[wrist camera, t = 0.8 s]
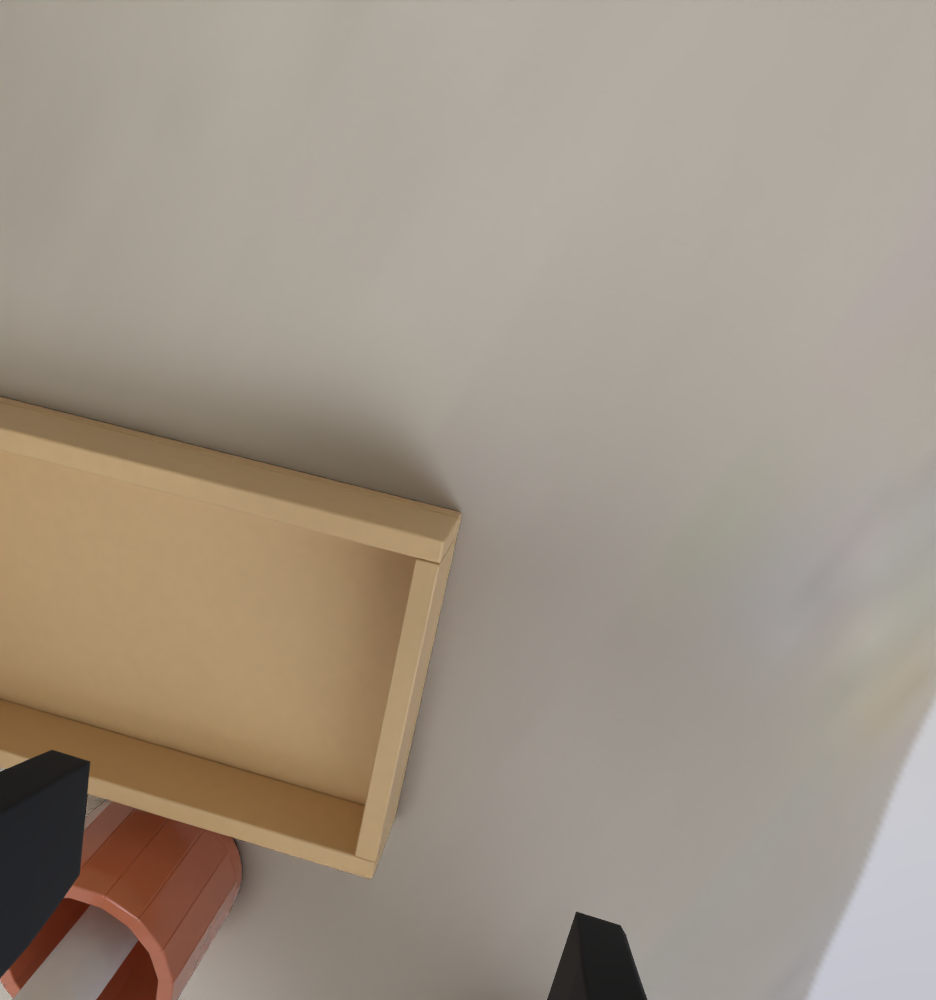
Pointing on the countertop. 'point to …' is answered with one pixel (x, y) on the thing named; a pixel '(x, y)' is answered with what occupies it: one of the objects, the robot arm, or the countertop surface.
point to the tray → (215, 632)
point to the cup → (145, 899)
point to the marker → (82, 960)
